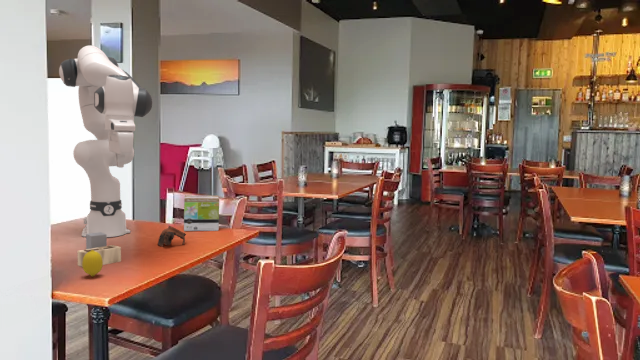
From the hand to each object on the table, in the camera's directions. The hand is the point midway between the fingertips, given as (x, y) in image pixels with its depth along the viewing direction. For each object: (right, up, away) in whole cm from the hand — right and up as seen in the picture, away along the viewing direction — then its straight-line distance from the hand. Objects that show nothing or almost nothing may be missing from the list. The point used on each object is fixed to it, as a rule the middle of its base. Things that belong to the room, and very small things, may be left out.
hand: (120, 167), depth 170 cm
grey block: (-10, -31, +6) cm, 33 cm away
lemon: (-2, -33, -17) cm, 37 cm away
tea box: (+13, -26, +59) cm, 66 cm away
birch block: (-2, -29, +3) cm, 29 cm away
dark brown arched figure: (+9, -29, +26) cm, 40 cm away
